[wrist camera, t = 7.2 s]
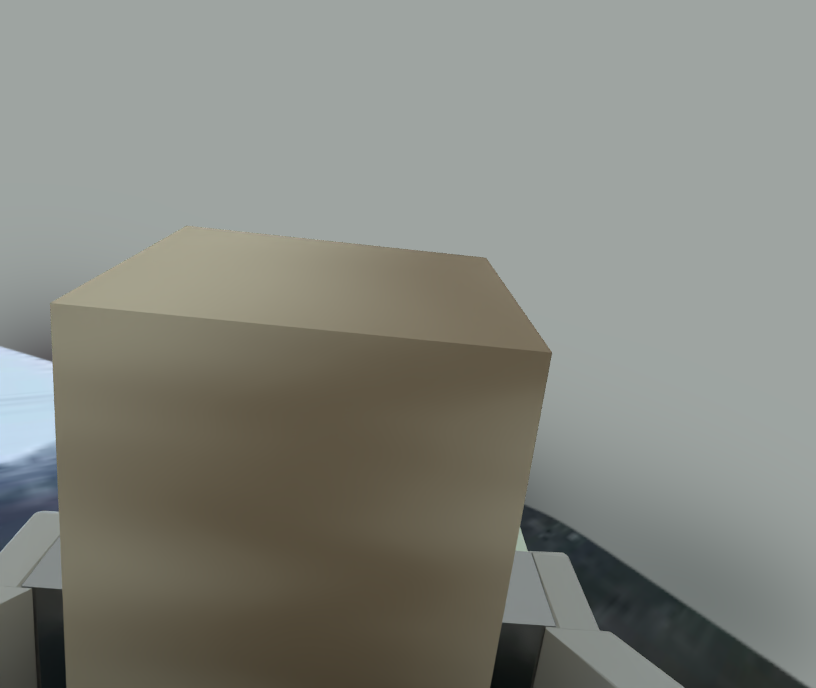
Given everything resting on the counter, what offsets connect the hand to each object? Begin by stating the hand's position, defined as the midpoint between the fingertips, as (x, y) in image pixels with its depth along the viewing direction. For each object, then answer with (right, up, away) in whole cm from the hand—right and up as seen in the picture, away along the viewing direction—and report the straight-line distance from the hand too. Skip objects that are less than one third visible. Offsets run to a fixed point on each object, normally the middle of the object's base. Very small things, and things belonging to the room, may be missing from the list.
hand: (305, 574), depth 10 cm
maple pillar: (-1, -6, +1) cm, 6 cm away
